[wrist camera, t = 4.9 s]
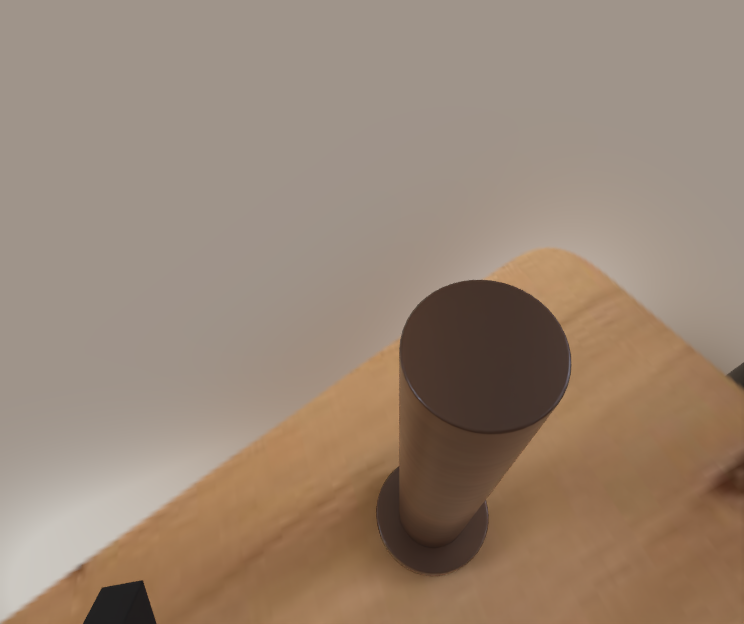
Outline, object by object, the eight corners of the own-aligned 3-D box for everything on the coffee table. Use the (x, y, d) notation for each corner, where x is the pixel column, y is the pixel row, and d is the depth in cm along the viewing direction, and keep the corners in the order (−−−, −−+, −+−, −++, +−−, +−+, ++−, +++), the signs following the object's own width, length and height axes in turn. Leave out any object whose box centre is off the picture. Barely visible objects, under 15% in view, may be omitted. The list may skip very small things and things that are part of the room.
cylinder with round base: (458, 448, 23) (545, 206, 10) (502, 552, 21) (698, 435, 7) (363, 483, 23) (308, 279, 9) (399, 593, 21) (400, 549, 7)
